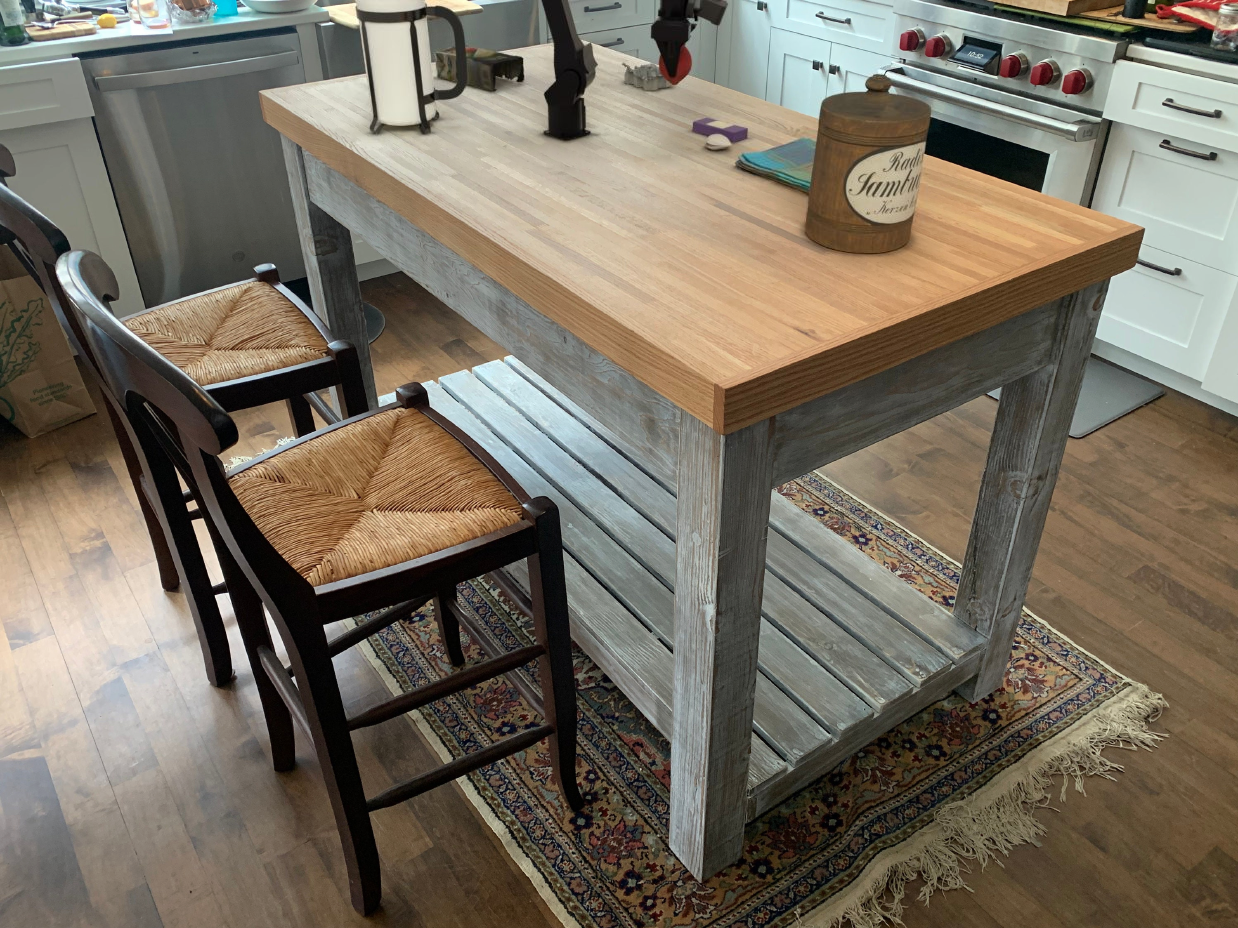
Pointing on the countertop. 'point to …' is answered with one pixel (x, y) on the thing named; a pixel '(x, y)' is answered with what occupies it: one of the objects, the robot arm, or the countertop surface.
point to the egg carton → (646, 77)
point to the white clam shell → (717, 142)
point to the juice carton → (480, 66)
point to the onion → (682, 69)
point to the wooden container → (867, 169)
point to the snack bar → (720, 129)
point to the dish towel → (783, 163)
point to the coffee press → (404, 61)
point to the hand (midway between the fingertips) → (674, 73)
